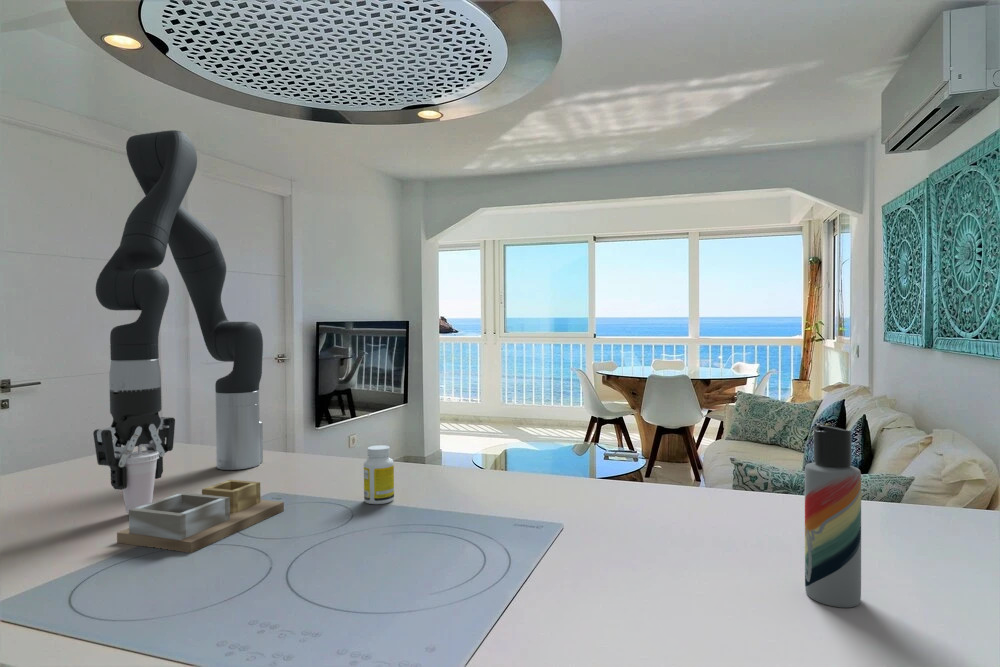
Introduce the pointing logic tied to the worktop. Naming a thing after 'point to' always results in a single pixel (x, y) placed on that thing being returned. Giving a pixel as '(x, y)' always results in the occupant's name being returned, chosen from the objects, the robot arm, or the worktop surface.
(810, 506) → the lotion bottle
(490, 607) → the worktop surface
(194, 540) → the fitting board
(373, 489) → the supplement bottle
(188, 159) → the robot arm
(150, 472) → the smoothie
